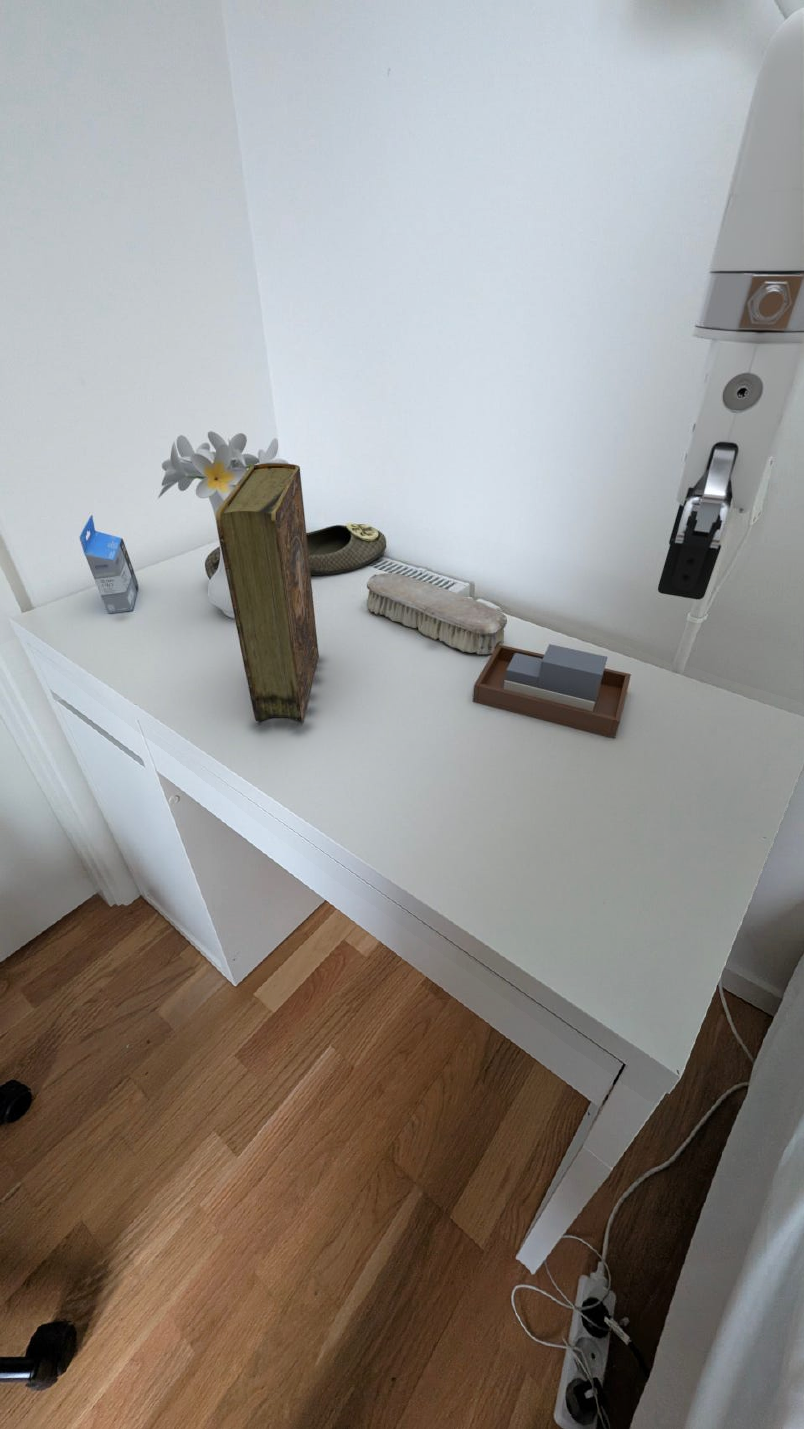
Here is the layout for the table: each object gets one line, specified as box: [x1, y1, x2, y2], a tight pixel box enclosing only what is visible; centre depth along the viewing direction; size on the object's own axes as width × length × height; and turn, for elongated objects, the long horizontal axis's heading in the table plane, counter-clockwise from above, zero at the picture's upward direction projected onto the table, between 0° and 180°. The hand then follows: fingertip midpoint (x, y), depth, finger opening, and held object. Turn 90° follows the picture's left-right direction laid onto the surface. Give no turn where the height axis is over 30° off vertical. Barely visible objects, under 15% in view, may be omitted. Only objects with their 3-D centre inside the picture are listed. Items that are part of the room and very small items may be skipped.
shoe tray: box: [472, 644, 632, 739], centre depth 72 cm, size 17×10×3 cm, turn 66°
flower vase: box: [157, 430, 290, 619], centre depth 83 cm, size 13×18×25 cm
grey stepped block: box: [503, 643, 608, 711], centre depth 71 cm, size 11×4×6 cm, turn 66°
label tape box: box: [79, 514, 139, 614], centre depth 88 cm, size 9×4×12 cm, turn 13°
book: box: [215, 463, 320, 723], centre depth 66 cm, size 16×6×25 cm, turn 179°
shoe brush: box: [366, 572, 508, 655], centre depth 85 cm, size 24×8×5 cm, turn 51°
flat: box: [204, 522, 387, 580], centre depth 99 cm, size 11×33×8 cm, turn 117°
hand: (684, 569), depth 46 cm, fingers open, 9 cm apart
